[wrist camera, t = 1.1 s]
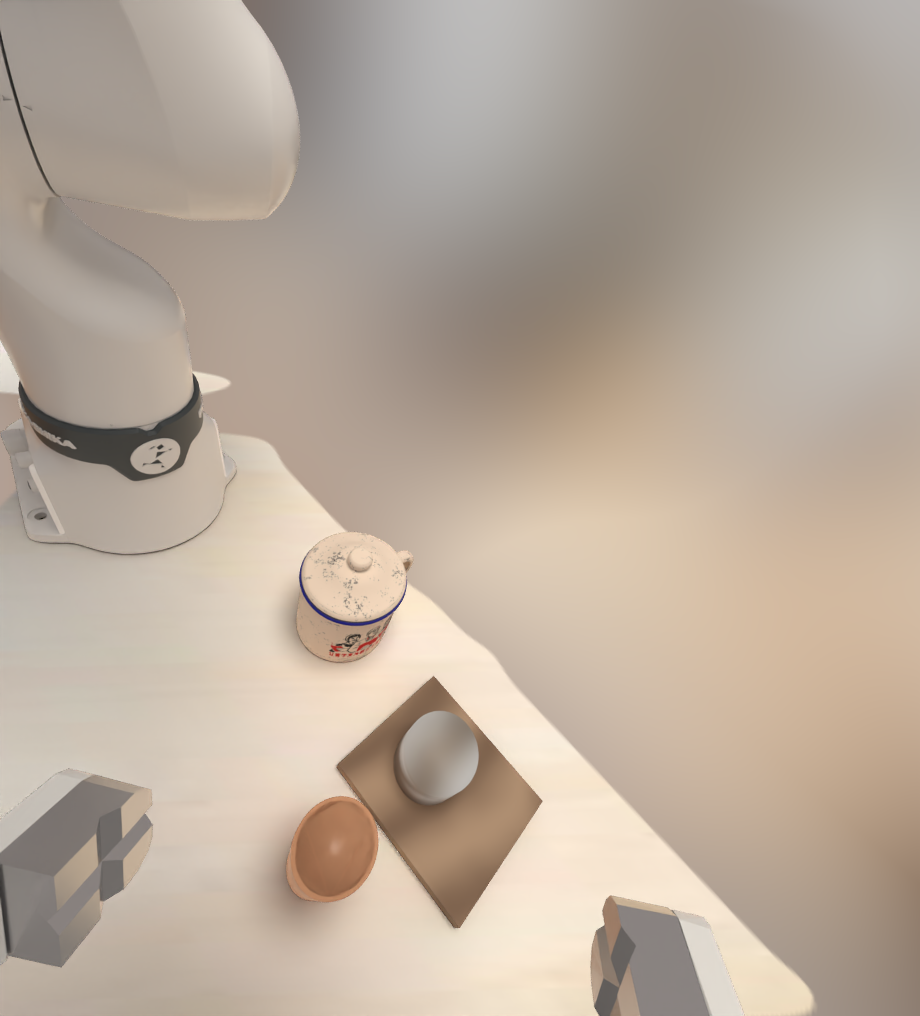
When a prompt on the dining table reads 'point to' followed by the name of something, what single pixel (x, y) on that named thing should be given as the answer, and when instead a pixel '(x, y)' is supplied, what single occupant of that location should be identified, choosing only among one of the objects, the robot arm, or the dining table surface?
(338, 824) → the peach lidded canister
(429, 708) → the stud board
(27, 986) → the dining table surface
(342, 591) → the teacup with lid
